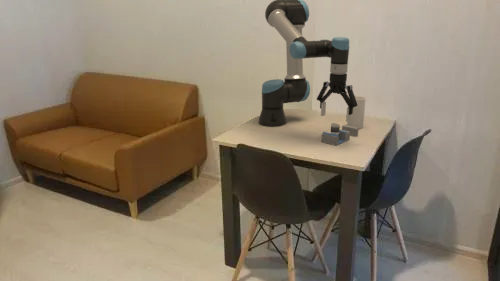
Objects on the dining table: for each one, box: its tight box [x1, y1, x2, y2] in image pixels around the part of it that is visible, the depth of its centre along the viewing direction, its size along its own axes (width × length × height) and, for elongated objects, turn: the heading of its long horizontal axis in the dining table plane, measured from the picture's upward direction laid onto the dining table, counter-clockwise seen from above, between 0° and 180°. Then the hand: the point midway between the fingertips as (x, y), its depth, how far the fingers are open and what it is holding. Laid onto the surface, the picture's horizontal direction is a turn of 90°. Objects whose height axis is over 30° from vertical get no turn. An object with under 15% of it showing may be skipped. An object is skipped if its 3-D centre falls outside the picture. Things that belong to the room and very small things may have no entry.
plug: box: [330, 122, 341, 135], centre depth 189 cm, size 4×4×8 cm
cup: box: [346, 95, 366, 130], centre depth 210 cm, size 8×8×16 cm
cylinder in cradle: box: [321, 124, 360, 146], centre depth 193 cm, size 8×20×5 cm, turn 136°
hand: (335, 118), depth 187 cm, fingers open, 13 cm apart
